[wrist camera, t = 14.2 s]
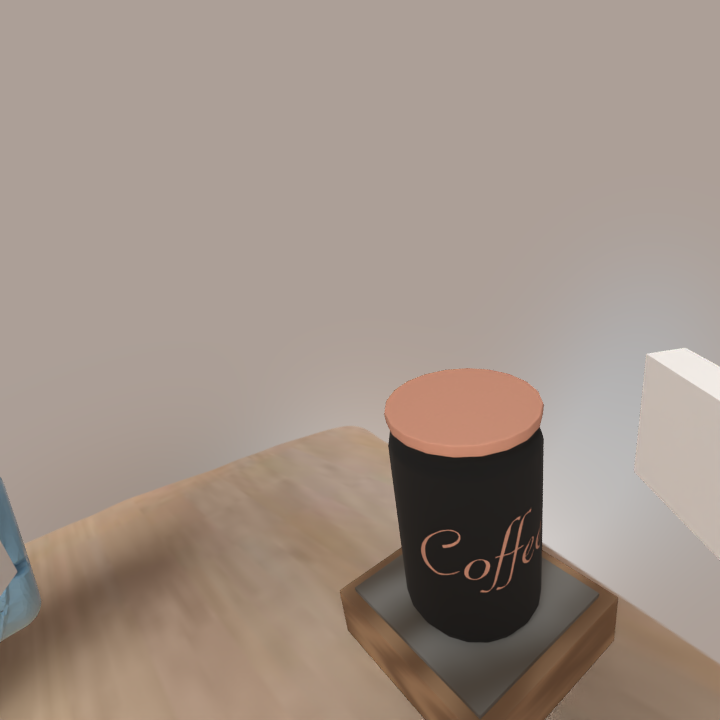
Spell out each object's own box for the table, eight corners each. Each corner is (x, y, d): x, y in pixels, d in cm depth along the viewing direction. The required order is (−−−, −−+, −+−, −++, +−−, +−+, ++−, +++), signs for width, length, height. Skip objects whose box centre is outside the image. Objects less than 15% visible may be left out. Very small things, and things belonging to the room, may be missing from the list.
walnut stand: (347, 630, 46) (339, 587, 44) (468, 539, 54) (465, 499, 52) (484, 788, 34) (481, 739, 32) (613, 640, 42) (618, 593, 40)
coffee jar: (418, 660, 37) (391, 456, 30) (401, 551, 47) (378, 378, 39) (563, 641, 37) (572, 432, 30) (515, 536, 47) (513, 359, 39)
